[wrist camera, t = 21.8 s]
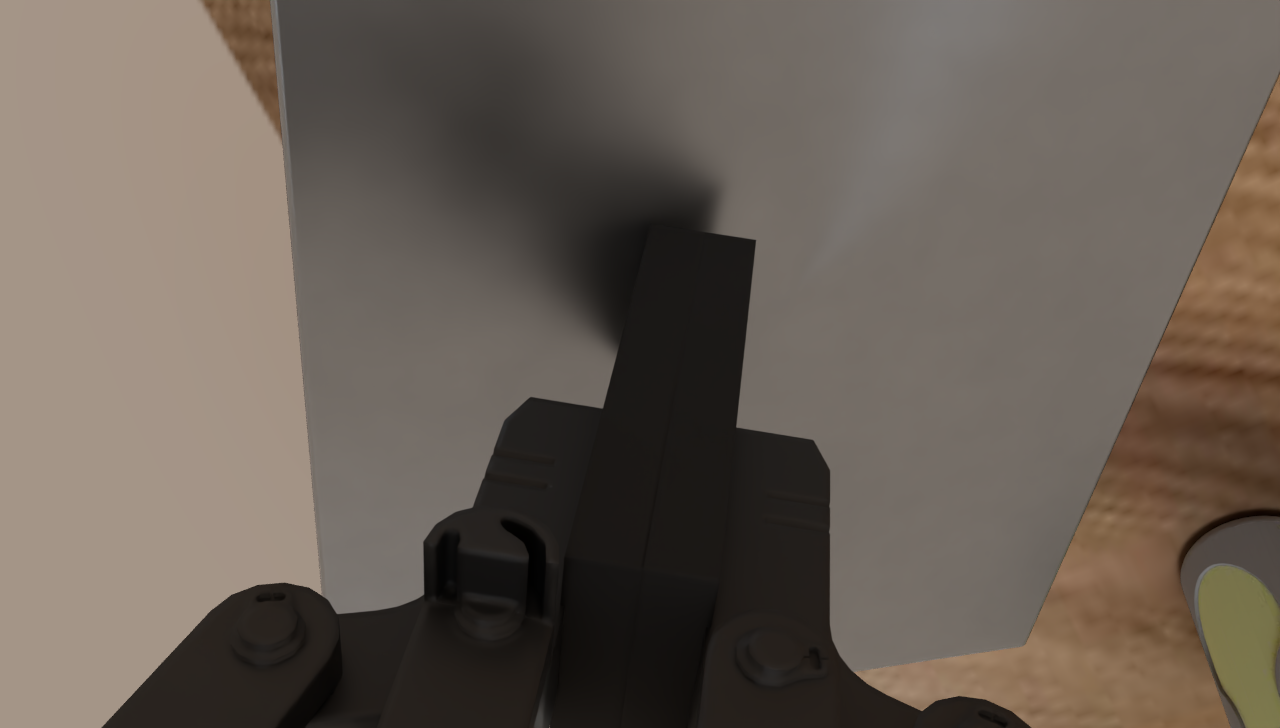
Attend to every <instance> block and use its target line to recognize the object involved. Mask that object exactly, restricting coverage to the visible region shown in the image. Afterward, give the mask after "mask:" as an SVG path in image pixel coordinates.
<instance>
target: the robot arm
mask: <svg viewBox="0 0 1280 728" xmlns="http://www.w3.org/2000/svg"><path fill="white" fill-rule="evenodd" d="M755 247H756V240H754V239H747V238H741V237H734V236H728V235H721V234H715V233H708V232H702V231H695V230H689V229H682V228H675V227H669V226H662V225H656V224H651V225H650V229H649V232H648V236H647V240H646V244H645V248H644V252H643V256H642V259H641V263H640V267H639V271H638V275H637V279H636V283H635V286H634V290H633V294H632V298H631V302H630V306H629V310H628V313H627V317H626V321H625V325H624V329H623V333H622V337H621V340H620V344H619V348H618V352H617V356H616V360H615V363H614V367H613V371H612V375H611V379H610V383H609V387H608V390H607V394H606V398H605V402H604V406H603V408H597V407H590V406H584V405H578V404H572V403H566V402H559V401H553V400H547V399H541V398H535V397H530V398H528V399H527V400H526V401H525V402H524V403H523V404H522V405H521V406H520V407H518V408H517V409H516V410H515V411H514V412H513V413H512V414H511V415H509V416H508V417H507V418H506V419H505V420H504V423H503V425H502V428H501V431H500V434H499V436H498V439H497V442H496V445H495V447H494V452H493V455H491V458H490V461H489V464H488V466H487V469H486V472H485V477H484V479H483V480H482V483H481V486H480V488H479V491H478V494H477V497H476V499H475V502H474V505H473V507H472V508H468V509H465V510H461V511H457V512H454V513H453V514H451V515H450V516H448V517H446V518H445V519H443V520H442V521H440V522H438V523H437V524H435V526H434V527H433V529H432V530H431V531H430V533H429V534H428V536H427V537H426V539H425V540H424V541H423V558H424V595H423V596H421V597H419V598H418V599H416V600H413V601H411V602H408V603H406V604H403V605H400V606H398V607H392V608H387V609H382V610H376V611H365V612H355V613H344V614H337V613H336V612H335V610H334V609H333V607H332V605H331V604H330V602H329V600H328V599H326V598H325V597H323V596H321V595H320V594H318V593H317V592H315V591H313V590H312V589H310V588H307V587H303V586H297V585H292V584H288V583H276V584H266V585H257V586H254V587H251V588H249V589H246V590H243V591H241V592H238V593H235V594H233V595H231V596H230V597H228V598H227V599H226V600H224V601H223V602H222V603H221V604H219V605H218V606H217V607H215V608H214V609H213V610H211V611H210V612H209V613H208V614H207V616H206V617H205V618H204V619H203V620H202V621H201V622H200V623H199V624H198V625H197V626H196V627H195V629H193V631H192V632H191V633H190V634H189V635H188V636H187V637H186V638H185V639H184V640H183V641H182V642H181V643H180V644H179V645H178V647H177V648H176V649H175V650H174V651H173V652H172V653H171V654H170V655H169V656H168V657H167V658H166V659H165V660H164V662H163V663H162V664H161V665H160V666H159V667H158V668H157V669H156V670H155V671H154V672H153V673H152V675H151V676H150V677H149V678H148V679H147V680H146V681H145V682H144V683H143V684H142V685H141V686H140V687H139V688H138V689H137V691H135V693H134V694H133V695H132V696H131V697H130V698H129V699H128V700H127V701H126V702H125V703H124V704H123V705H122V706H121V707H120V709H119V710H118V711H117V712H116V713H115V714H114V715H113V716H112V717H111V718H110V719H109V720H108V721H107V723H106V724H105V725H104V726H103V727H102V728H549V727H550V728H1031V727H1030V726H1029V725H1027V724H1026V723H1025V722H1024V721H1023V720H1021V719H1020V718H1019V717H1018V716H1016V715H1015V714H1014V713H1013V712H1012V711H1009V710H1007V709H1005V708H1003V707H1000V706H998V705H996V704H994V703H992V702H989V701H987V700H983V699H976V698H969V697H962V696H957V697H953V698H948V699H943V700H938V701H935V702H934V703H933V704H931V705H930V706H929V707H927V708H926V709H925V710H923V711H920V710H918V709H916V708H914V707H911V706H909V705H907V704H905V703H903V702H901V701H898V700H896V699H894V698H892V697H890V696H887V695H885V694H884V693H882V692H880V691H878V690H877V689H875V688H873V687H871V686H870V685H868V684H867V683H865V682H864V681H863V680H862V679H861V678H860V677H858V676H857V675H856V674H855V673H854V672H852V671H851V669H850V668H849V667H848V666H847V664H846V663H845V662H844V661H843V659H842V658H841V657H840V655H839V653H838V651H837V649H836V647H835V644H834V642H833V640H832V635H831V628H830V533H829V530H830V508H829V505H830V469H829V467H828V465H827V463H826V462H825V460H824V458H823V456H822V454H821V453H820V451H819V449H818V447H817V445H816V444H815V442H814V440H811V439H805V438H799V437H793V436H786V435H780V434H774V433H768V432H762V431H755V430H749V429H743V428H737V427H736V425H737V416H738V406H739V397H740V388H741V378H742V369H743V359H744V350H745V341H746V331H747V322H748V312H749V303H750V294H751V284H752V275H753V266H754V256H755Z"/></svg>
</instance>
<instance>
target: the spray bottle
mask: <svg viewBox="0 0 1280 728" xmlns="http://www.w3.org/2000/svg"><path fill="white" fill-rule="evenodd" d="M1180 576H1181V585H1182V589H1183V592H1184V595H1185V598H1186V601H1187V603H1188V606H1189V609H1190V612H1191V615H1192V618H1193V621H1194V624H1195V626H1196V629H1197V632H1198V635H1199V638H1200V641H1201V644H1202V646H1203V649H1204V652H1205V655H1206V658H1207V661H1208V664H1209V666H1210V669H1211V672H1212V675H1213V678H1214V681H1215V684H1216V686H1217V689H1218V692H1219V695H1220V698H1221V701H1222V704H1223V706H1224V709H1225V712H1226V715H1227V718H1228V721H1229V724H1230V727H1231V728H1280V517H1276V516H1252V517H1246V518H1241V519H1237V520H1233V521H1230V522H1228V523H1225V524H1222V525H1220V526H1218V527H1216V528H1214V529H1212V530H1211V531H1209V532H1207V533H1206V534H1205V535H1203V536H1202V537H1201V538H1200V539H1199V540H1198V541H1196V542H1195V544H1194V545H1193V546H1192V547H1191V548H1190V550H1189V551H1188V553H1187V554H1186V556H1185V559H1184V562H1183V565H1182V568H1181V575H1180Z"/></svg>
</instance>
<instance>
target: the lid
mask: <svg viewBox="0 0 1280 728" xmlns="http://www.w3.org/2000/svg"><path fill="white" fill-rule="evenodd" d="M270 6H271V18H272V29H273V41H274V52H275V63H276V75H277V86H278V98H279V109H280V121H281V132H282V144H283V155H284V167H285V177H286V189H287V201H288V212H289V224H290V235H291V247H292V258H293V269H294V281H295V292H296V304H297V316H298V326H299V338H300V350H301V361H302V372H303V384H304V396H305V407H306V419H307V429H308V442H309V452H310V464H311V475H312V488H313V498H314V510H315V522H316V533H317V545H318V556H319V566H320V567H319V568H320V579H321V591H322V596H323V597H325V598H326V599H328V600H329V602H330V604H331V605H332V607H333V609H334V610H335V612H336V613H337V614H344V613H355V612H365V611H376V610H382V609H387V608H392V607H398V606H400V605H403V604H406V603H408V602H411V601H413V600H416V599H418V598H419V597H421V596H423V595H424V558H423V541H424V540H425V539H426V537H427V536H428V534H429V533H430V531H431V530H432V529H433V527H434V526H435V524H437V523H438V522H440V521H442V520H443V519H445V518H446V517H448V516H450V515H451V514H453V513H454V512H457V511H461V510H465V509H468V508H472V507H473V505H474V502H475V499H476V497H477V494H478V491H479V488H480V486H481V483H482V480H483V479H484V477H485V472H486V469H487V466H488V464H489V461H490V458H491V455H493V452H494V447H495V445H496V442H497V439H498V436H499V434H500V431H501V428H502V425H503V423H504V420H505V419H506V418H507V417H508V416H509V415H511V414H512V413H513V412H514V411H515V410H516V409H517V408H518V407H520V406H521V405H522V404H523V403H524V402H525V401H526V400H527V399H528V398H530V397H535V398H541V399H547V400H553V401H559V402H566V403H572V404H578V405H584V406H590V407H597V408H603V406H604V402H605V398H606V394H607V390H608V387H609V383H610V379H611V375H612V371H613V367H614V363H615V360H616V356H617V352H618V348H619V344H620V340H621V337H622V333H623V329H624V325H625V321H626V317H627V313H628V310H629V306H630V302H631V298H632V294H633V290H634V286H635V283H636V279H637V275H638V271H639V267H640V263H641V259H642V256H643V252H644V248H645V244H646V240H647V236H648V232H649V229H650V225H651V224H656V225H662V226H669V227H675V228H682V229H689V230H695V231H702V232H708V233H715V234H721V235H728V236H734V237H741V238H747V239H754V240H756V247H755V256H754V266H753V275H752V284H751V294H750V303H749V312H748V322H747V331H746V341H745V350H744V359H743V369H742V378H741V388H740V397H739V406H738V416H737V425H736V427H737V428H743V429H749V430H755V431H762V432H768V433H774V434H780V435H786V436H793V437H799V438H805V439H811V440H814V442H815V444H816V445H817V447H818V449H819V451H820V453H821V454H822V456H823V458H824V460H825V462H826V463H827V465H828V467H829V469H830V505H829V508H830V530H829V533H830V628H831V635H832V640H833V642H834V644H835V647H836V649H837V651H838V653H839V655H840V657H841V658H842V659H843V661H844V662H845V663H846V664H847V666H848V667H849V668H850V669H851V671H852V672H856V671H863V670H869V669H876V668H883V667H889V666H896V665H902V664H909V663H916V662H922V661H929V660H935V659H942V658H949V657H955V656H962V655H969V654H975V653H982V652H988V651H995V650H1002V649H1008V648H1015V647H1021V646H1024V645H1025V644H1026V642H1027V639H1028V637H1029V635H1030V633H1031V630H1032V628H1033V626H1034V624H1035V621H1036V619H1037V617H1038V615H1039V612H1040V610H1041V608H1042V606H1043V603H1044V601H1045V599H1046V597H1047V595H1048V592H1049V590H1050V588H1051V586H1052V583H1053V581H1054V579H1055V577H1056V574H1057V572H1058V570H1059V568H1060V565H1061V563H1062V561H1063V559H1064V556H1065V554H1066V552H1067V550H1068V547H1069V545H1070V543H1071V541H1072V539H1073V536H1074V534H1075V532H1076V530H1077V527H1078V525H1079V523H1080V521H1081V518H1082V516H1083V514H1084V512H1085V509H1086V507H1087V505H1088V503H1089V500H1090V498H1091V496H1092V494H1093V491H1094V489H1095V487H1096V485H1097V482H1098V480H1099V478H1100V476H1101V474H1102V471H1103V469H1104V467H1105V465H1106V462H1107V460H1108V458H1109V456H1110V453H1111V451H1112V449H1113V447H1114V444H1115V442H1116V440H1117V438H1118V435H1119V433H1120V431H1121V429H1122V426H1123V424H1124V422H1125V420H1126V418H1127V415H1128V413H1129V411H1130V409H1131V406H1132V404H1133V402H1134V400H1135V397H1136V395H1137V393H1138V391H1139V388H1140V386H1141V384H1142V382H1143V379H1144V377H1145V375H1146V373H1147V370H1148V368H1149V366H1150V364H1151V361H1152V359H1153V357H1154V355H1155V353H1156V350H1157V348H1158V346H1159V344H1160V341H1161V339H1162V337H1163V335H1164V332H1165V330H1166V328H1167V326H1168V323H1169V321H1170V319H1171V317H1172V314H1173V312H1174V310H1175V308H1176V305H1177V303H1178V301H1179V299H1180V297H1181V294H1182V292H1183V290H1184V288H1185V285H1186V283H1187V281H1188V279H1189V276H1190V274H1191V272H1192V270H1193V267H1194V265H1195V263H1196V261H1197V258H1198V256H1199V254H1200V252H1201V249H1202V247H1203V245H1204V243H1205V240H1206V238H1207V236H1208V234H1209V232H1210V229H1211V227H1212V225H1213V223H1214V220H1215V218H1216V216H1217V214H1218V211H1219V209H1220V207H1221V205H1222V202H1223V200H1224V198H1225V196H1226V193H1227V191H1228V189H1229V187H1230V184H1231V182H1232V180H1233V178H1234V176H1235V173H1236V171H1237V169H1238V167H1239V164H1240V162H1241V160H1242V158H1243V155H1244V153H1245V151H1246V149H1247V146H1248V144H1249V142H1250V140H1251V137H1252V135H1253V133H1254V131H1255V128H1256V126H1257V124H1258V122H1259V119H1260V117H1261V115H1262V113H1263V111H1264V108H1265V106H1266V104H1267V102H1268V99H1269V97H1270V95H1271V93H1272V90H1273V88H1274V86H1275V84H1276V81H1277V79H1278V77H1279V75H1280V0H270Z"/></svg>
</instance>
